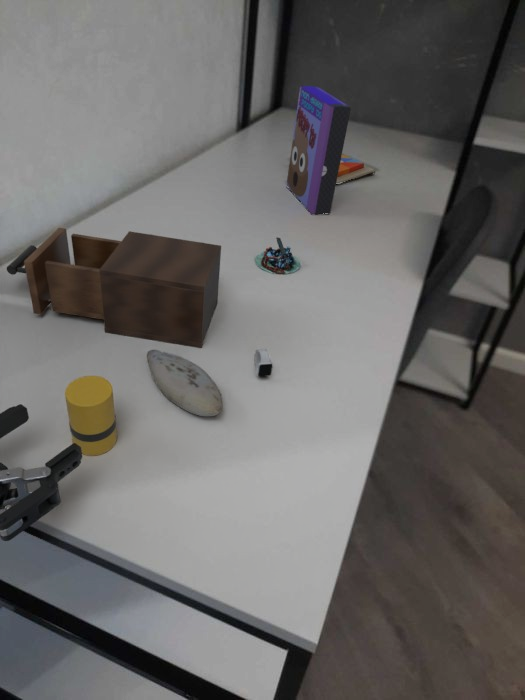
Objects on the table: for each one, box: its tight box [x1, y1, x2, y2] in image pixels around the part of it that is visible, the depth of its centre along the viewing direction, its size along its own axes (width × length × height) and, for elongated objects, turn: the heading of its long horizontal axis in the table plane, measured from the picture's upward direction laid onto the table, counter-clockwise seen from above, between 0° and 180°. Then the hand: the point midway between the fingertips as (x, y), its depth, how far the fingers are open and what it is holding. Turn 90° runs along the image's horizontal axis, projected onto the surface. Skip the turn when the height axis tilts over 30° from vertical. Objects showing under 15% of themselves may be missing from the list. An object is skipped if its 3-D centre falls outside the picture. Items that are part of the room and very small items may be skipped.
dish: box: [254, 236, 301, 275], centre depth 102 cm, size 8×7×8 cm
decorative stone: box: [145, 349, 223, 417], centre depth 69 cm, size 6×16×3 cm, turn 45°
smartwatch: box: [253, 348, 274, 377], centre depth 74 cm, size 4×2×4 cm, turn 13°
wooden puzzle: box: [336, 153, 376, 183], centre depth 148 cm, size 18×19×4 cm
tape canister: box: [64, 375, 118, 457], centre depth 60 cm, size 5×5×8 cm
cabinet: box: [99, 230, 222, 349], centre depth 80 cm, size 15×13×11 cm
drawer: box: [6, 227, 122, 320], centre depth 80 cm, size 18×12×9 cm, turn 83°
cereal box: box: [286, 85, 352, 215], centre depth 122 cm, size 17×5×24 cm, turn 18°
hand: (51, 430), depth 55 cm, fingers open, 8 cm apart
